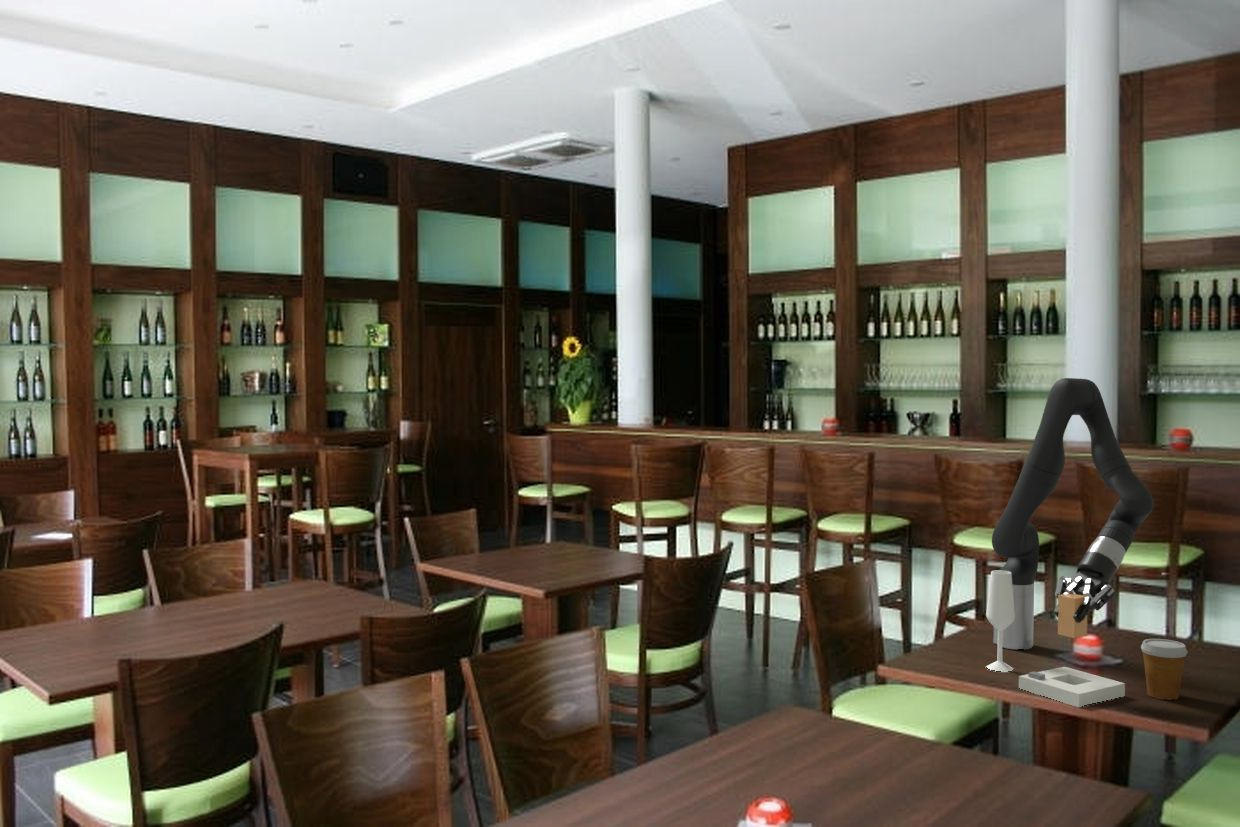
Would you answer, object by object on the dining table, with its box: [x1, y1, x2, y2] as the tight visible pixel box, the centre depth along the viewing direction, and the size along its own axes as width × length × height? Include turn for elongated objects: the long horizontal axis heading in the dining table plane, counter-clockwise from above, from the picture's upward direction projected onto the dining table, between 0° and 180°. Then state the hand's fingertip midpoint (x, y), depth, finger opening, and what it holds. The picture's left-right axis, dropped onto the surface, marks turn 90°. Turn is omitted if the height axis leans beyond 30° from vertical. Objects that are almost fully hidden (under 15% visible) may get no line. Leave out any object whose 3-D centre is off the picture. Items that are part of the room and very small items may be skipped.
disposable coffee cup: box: [1140, 638, 1189, 701], centre depth 245 cm, size 10×10×12 cm
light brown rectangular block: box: [1057, 593, 1088, 639], centre depth 247 cm, size 4×4×9 cm
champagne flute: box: [985, 569, 1015, 673], centre depth 267 cm, size 7×7×24 cm
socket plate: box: [1018, 666, 1126, 708], centre depth 248 cm, size 16×16×4 cm
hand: (1067, 617), depth 246 cm, fingers closed on light brown rectangular block, 4 cm apart
